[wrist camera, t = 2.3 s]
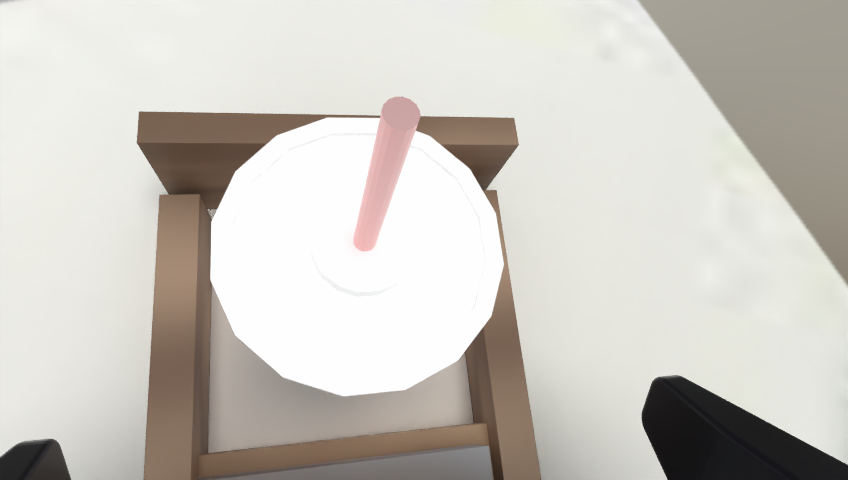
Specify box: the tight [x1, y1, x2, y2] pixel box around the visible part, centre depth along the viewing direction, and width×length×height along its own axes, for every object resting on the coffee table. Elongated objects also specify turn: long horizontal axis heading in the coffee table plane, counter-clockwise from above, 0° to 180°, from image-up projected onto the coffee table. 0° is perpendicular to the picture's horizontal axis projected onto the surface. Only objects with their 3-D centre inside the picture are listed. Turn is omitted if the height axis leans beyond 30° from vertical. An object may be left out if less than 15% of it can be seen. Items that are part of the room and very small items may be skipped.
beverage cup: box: [210, 97, 504, 397], centre depth 13 cm, size 6×6×14 cm
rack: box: [137, 112, 541, 480], centre depth 17 cm, size 14×11×5 cm
